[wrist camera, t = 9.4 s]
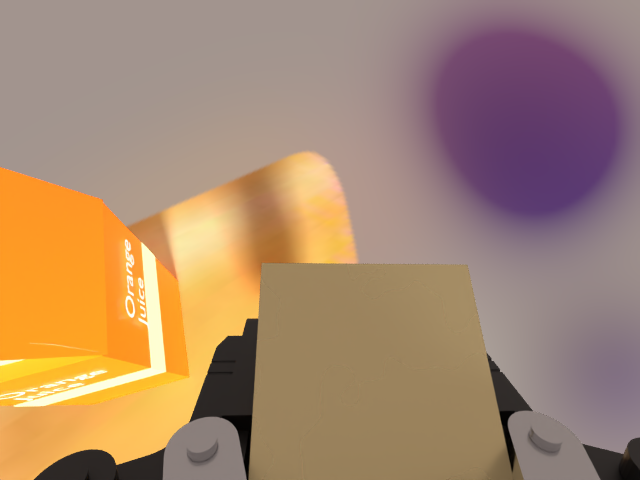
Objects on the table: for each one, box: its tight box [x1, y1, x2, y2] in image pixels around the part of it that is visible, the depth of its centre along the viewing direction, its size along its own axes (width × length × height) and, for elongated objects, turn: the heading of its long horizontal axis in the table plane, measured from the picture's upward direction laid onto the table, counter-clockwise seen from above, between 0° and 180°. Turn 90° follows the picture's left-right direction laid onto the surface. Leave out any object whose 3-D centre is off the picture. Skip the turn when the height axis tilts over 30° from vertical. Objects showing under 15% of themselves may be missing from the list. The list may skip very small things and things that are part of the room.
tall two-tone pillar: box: [249, 263, 512, 480], centre depth 13 cm, size 4×5×14 cm
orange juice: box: [0, 167, 189, 406], centre depth 21 cm, size 8×9×20 cm
